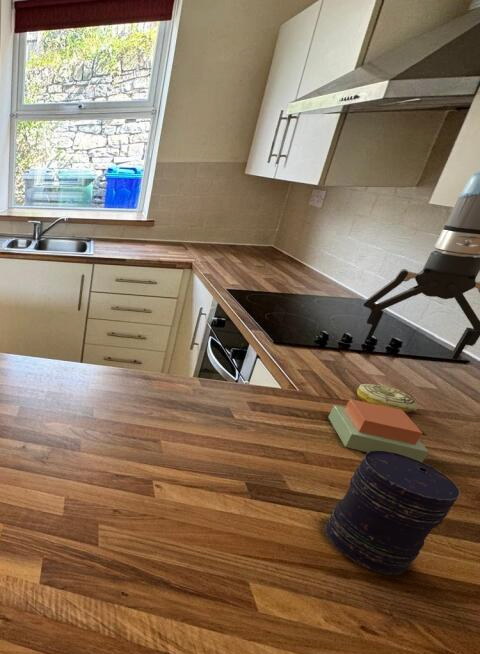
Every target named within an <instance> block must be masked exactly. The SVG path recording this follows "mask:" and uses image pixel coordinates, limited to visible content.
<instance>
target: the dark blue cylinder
mask: <svg viewBox="0 0 480 654" xmlns="http://www.w3.org/2000/svg"><path fill="white" fill-rule="evenodd" d="M460 496H461V490H460V488H459V487H458V485H457V484H456V483H455V482H454V481H453V480H452V479H451V478H449V477H448V476H447V475H446V474H444V473H443V472H441V471H439V470H437V469H436V468H434V467H433V466H430V465H429V464H427V463H425V462H420V461H418V460H415V459H413V458H410V457H407V456H404V455H401V454H397V453H393V452H388V451H370V452H365V455H364V457H363V458H362V460H361V461H360V464H359V465H358V466H357V467H356V469H355V471H354V473H353V475H352V476H351V478H350V480H349V487H348V489H347V491H346V492H345V494H344V496H343V497H342V498H341V499H340V500H339V501H338V502H337V504H336V506H334V508H333V510H332V511H331V513H330V517H329V520H328V521H327V522H326V524H325V528H324V531H325V534H326V536H327V538H328V540H329V541H330V542H331V543H332V545H333V546H334V547H335V548H336V549H337V550H338V551H340V552H341V553H342V554H343V555H345V556H346V557H347V558H349V559H350V560H352V561H354V563H357V564H359V565H361V566H363V567H365V568H367V569H368V570H372V571H373V572H377V573H381V574H385V575H391V576H394V575H396V576H397V575H401V574H403V573H404V572H405V571H407V569H408V567H409V565H411V563H412V562H414V561H415V560H416V558H417V557H418V556H419V554H420V551H421V550H422V548H423V547H424V546H425V540H426V539H427V537H428V536H429V535H430V533H431V531H432V530H433V529H435V528H436V527H438V526H439V525H440V524H442V523H443V521H444V519H445V518H446V517H447V516H448V514H449V513H450V511H451V510H452V507H453V506H454V504H455V502H456V501H457V500H458V498H460Z"/></svg>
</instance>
